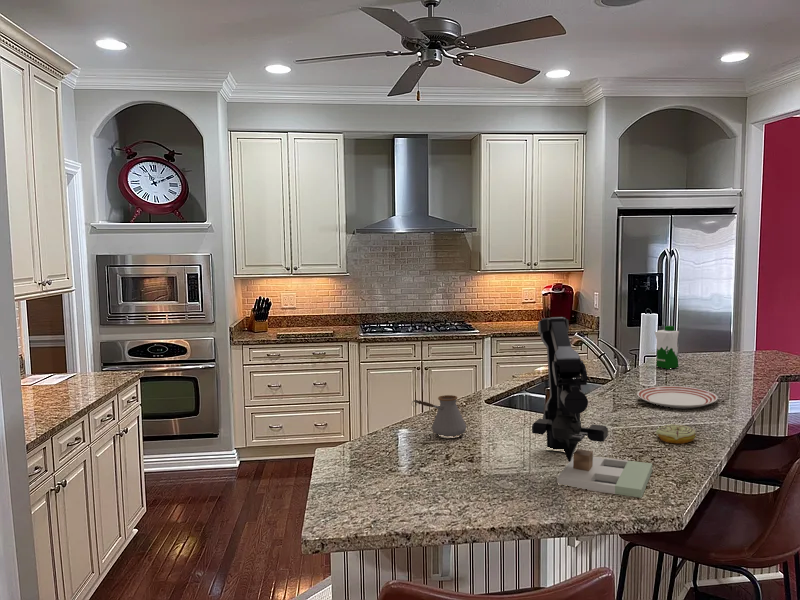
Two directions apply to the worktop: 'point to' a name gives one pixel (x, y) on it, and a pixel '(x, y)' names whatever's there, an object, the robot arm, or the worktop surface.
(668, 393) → the dinner plate
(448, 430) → the coffee pot
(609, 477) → the trap deck
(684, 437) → the decorated donut
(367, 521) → the worktop surface
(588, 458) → the walnut block
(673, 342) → the milk carton
